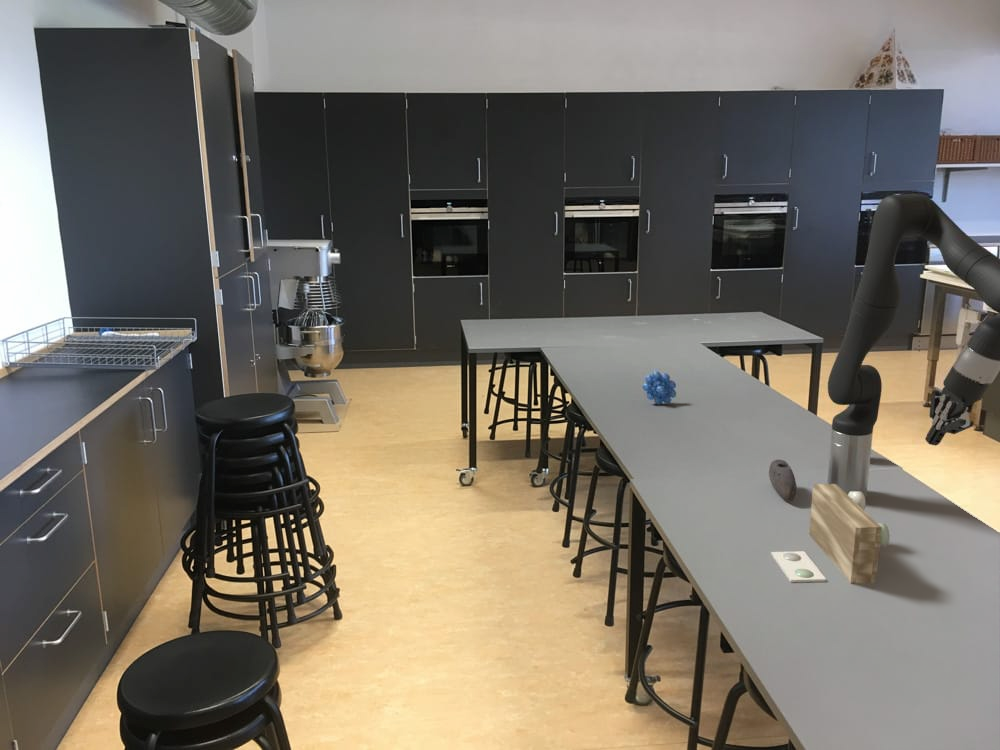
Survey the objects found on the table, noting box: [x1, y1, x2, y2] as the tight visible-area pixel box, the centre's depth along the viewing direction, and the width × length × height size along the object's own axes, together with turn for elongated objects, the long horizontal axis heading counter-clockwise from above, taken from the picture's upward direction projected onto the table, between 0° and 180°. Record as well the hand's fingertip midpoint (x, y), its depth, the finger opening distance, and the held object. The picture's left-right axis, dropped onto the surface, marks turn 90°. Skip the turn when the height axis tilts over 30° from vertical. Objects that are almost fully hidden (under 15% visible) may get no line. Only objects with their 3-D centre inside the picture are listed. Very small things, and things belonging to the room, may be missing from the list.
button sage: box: [877, 522, 890, 546], centre depth 160 cm, size 6×4×4 cm
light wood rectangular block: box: [808, 483, 882, 584], centre depth 169 cm, size 5×22×12 cm, turn 0°
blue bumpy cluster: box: [642, 370, 677, 406], centre depth 278 cm, size 12×7×12 cm, turn 87°
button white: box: [848, 491, 866, 511], centre depth 176 cm, size 6×4×4 cm
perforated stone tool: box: [768, 459, 797, 502], centre depth 202 cm, size 15×5×7 cm, turn 172°
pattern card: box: [770, 550, 827, 583], centre depth 167 cm, size 12×7×1 cm, turn 0°
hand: (930, 442), depth 167 cm, fingers closed
